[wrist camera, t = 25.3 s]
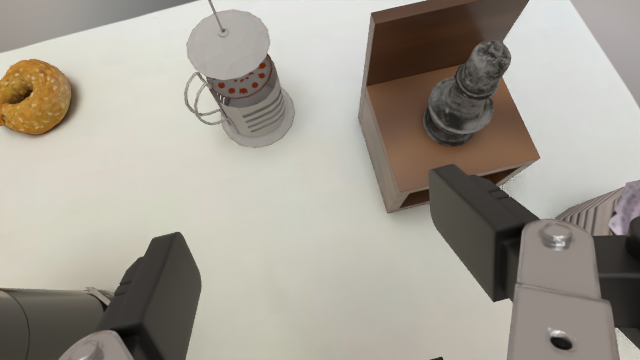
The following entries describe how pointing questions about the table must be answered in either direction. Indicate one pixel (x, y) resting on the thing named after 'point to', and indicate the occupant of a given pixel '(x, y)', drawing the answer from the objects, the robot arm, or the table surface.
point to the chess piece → (466, 96)
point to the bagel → (33, 97)
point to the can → (607, 211)
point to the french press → (240, 77)
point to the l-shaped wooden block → (414, 89)
